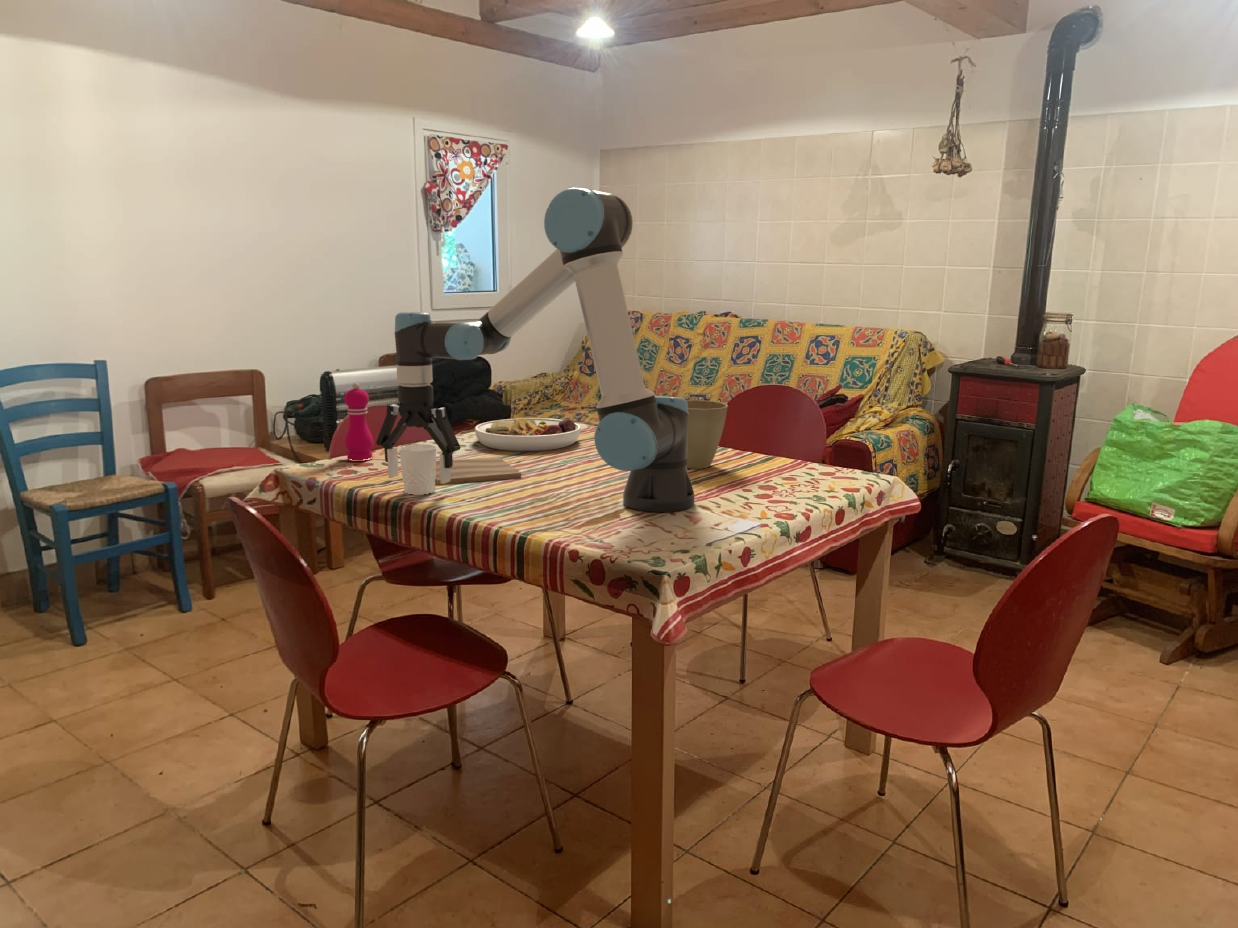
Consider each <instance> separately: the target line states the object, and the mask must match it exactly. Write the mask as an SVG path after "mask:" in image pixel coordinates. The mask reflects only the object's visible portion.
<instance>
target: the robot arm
mask: <svg viewBox="0 0 1238 928" xmlns="http://www.w3.org/2000/svg"><path fill="white" fill-rule="evenodd" d="M633 224H634V223H633V215H632V213H631V210H630V208H629V206H628V205H627V203H626V202H625V201H624V200H623V199H622V198H620V197H619V196H617V195H616V194H614V193H610V192H607V191H606V192H605V191H599V190H594V189H591V188H588V187H582V186H581V187H571V188H567V189H565V190H561V191H560V192H559V193H557V194H556V195H555V196H554V197H553V199H552V200H550V203H549V205H548V207H547V208H546V210H545V214H544V220H543V226H544V233H545V235H546V238H547V240H548V241H549V243H550V244H551V246H554V247H553V248H555V250H554V251H553V252H552V253H551V254H550V255H549V256H547V257H546V258H545V259H544V260H543V261H542V262H541V263H539V264H538V265H537V266H536V267H535V268H534V269H533V270H532V271H531V272H530V273H528V275H527V276H525V277H524V278H523V279H522V280H521V281H520V282H519V283H517V284H516V286H515V287H513V288H512V289H511V290H510V291H509V292H508V293H507V294H506V295H504V296H503V297H502V298H501V299H500V300H499V301H498V302H496V304H494V306H492V307H491V308H490V309H489V310H488V311H487V312H486V313H485V314H484V315H483V316H481V317H480V318H479V319H477V320H470V321H459V322H457V321H456V322H434V321H432V318H431V315H430V313H428V312H425V311H403V312H398V313H397V314H396V315H395V316H394V317H395V318H394V333H393V334H394V338H395V339H394V341H395V353H396V382H397V383H398V384H399V385H398V386H397V400H398V403H399V405H398V404H397V403H393V404H388V405H387V406H386V415H385V416H384V417H385V418H384V420H383V424H382V426H381V428H380V431H379V434H378V436H377V439H376V441H375V443H376V445H378V446H381V447H382V448H383V449H384V461H385V463H387V470H388V471H387V477H388V479H393V478H397V477H398V476H399V458H398V457H399V456H398V453H399V452H398V447H396V444H397V442H398V441H399V439H400V438H401V437H402V435H403V434H404V433H405V431H406V430H407V428H408V427H409V428H413V427H416V428H423V429H424V430H425V431H426V432H427V433H428V434H429V435H430V437H431V438H432V439H433V441H434V443H435V444H436V445H437V447H438V448H439V449H440V450H441V453H439V461H440V480H441V484H442V485H446V484H445V483H447V482H450V468H451V467H452V466H453V460H454V458H453V454H454V452H457V451H459V450H461V444H460V443H459V441H458V438H457V436H456V433H455V432H454V429H453V427H452V425H451V423H450V420H449V418H448V413H447V409H446V407H444V406H443V407H440V408H435V407H434V405H433V404H434V403H433V402H434V386H433V385H432V384H431V383H433V379H434V378H433V359H434V358H435V359H436V358H437V359H449V360H450V359H451V360H457V361H466V360H469V361H470V360H475V359H476V358H479V357H478V356H483V355H495V354H497V353H500V352H502V351H505V350H506V349H507V348H508V347H509V346H510V345H509V344H510V343H511V341H512V337H513V336H515V334H517V333H518V332H519V331H520V330H521V329H522V328H523V327H525V326H526V325H527V324H528V323H529V322H530V321H532V320H533V319H534V318H535V317H536V316H537V315H538V314H540V313H541V312H542V311H543V310H544V309H545V308H546V307H548V306H549V305H550V304H552V303H553V302H554V301H555V300H556V299H557V298H558V297H559V296H561V294H563V293H564V292H565V291H566V290H568V288H570V287H571V286H572V285H573V284H574V283H575V287H576V291H577V294H578V296H577V297H578V298H579V304H580V307H581V308H580V309H581V311H582V312H581V313H582V318H583V320H584V325H585V330H586V334H587V338H588V342H589V346H590V347H589V348H590V352H591V355H592V361H593V364H594V365H593V366H594V369H595V373H596V376H597V381H598V386H599V390H600V395H601V397H600V399H599V402H598V404H596V412H597V416H598V421H599V422H598V424H597V426H596V428H595V431H594V446H595V449H596V451H597V453H598V455H599V456H600V458H601V459H602V460H603V462H604V463H605V464H607V465H609V466H610V467H611V468H613V469H615V470H617V471H622V472H629V475H628V478H627V480H626V484H625V486H624V489H623V494H622V496H623V497H622V499H623V501H622V503H623V506H624V505H625V507H627V508H629V509H632V510H637V511H643V512H653V513H668V512H672V513H673V512H678V511H684V510H688V509H690V508H693V507H694V505H695V491H694V488H693V485H692V482H691V479H690V474H689V471H688V468H687V442H688V417H689V412H688V403H687V401H686V400H687V399H685V398H684V397H679V396H677V397H675V396H663V395H662V396H661V395H656V394H655V393H654V392H653V391H651V390H650V389H648V388H647V387H646V386H645V382H644V377H643V372H642V369H641V364H640V360H639V355H638V350H637V346H636V341H635V338H634V332H633V329H632V324H631V320H630V315H629V311H628V307H627V302H626V298H625V294H624V289H623V285H622V280H621V275H620V272H619V271H620V270H619V267H618V264H619V262H620V260H621V258H622V256H623V254H624V253H623V249H622V248H623V247H625V245H626V244H627V243H628V241H629V239H630V236H631V235H632V231H633ZM398 415H399V416H400V419H399V420H398V422H397V423H396V426H395V422H396V420H397V418H398ZM434 418H435V419H436V421H435V419H434ZM394 426H395V427H394ZM393 428H394V429H393Z"/></svg>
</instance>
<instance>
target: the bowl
mask: <svg viewBox="0 0 1238 928" xmlns="http://www.w3.org/2000/svg"><path fill="white" fill-rule="evenodd" d="M581 431H582V430H581V425H580V424H578V423H576V422H574V421H573V420H571V419H567V418H565V419H556V418H555V419H554V418H553V419H551V418H532V417H531V418H527V417H526V418H524V417H516V418H507V419H498V420H491V421H487V422H482V423H479V424H477V425H476V426H475V427H474V433H475V437H476V439H477V441H479V443H480V444H482V445H483V446H485V447H488V448H490V449H493V450H499V451H510V452H541V451H542V452H543V451H554V450H558V449H563V448H567V447H569V446H572V445H573V444H574V443H575V442H577V440H579V437H580V435H581ZM553 449H554V450H553Z"/></svg>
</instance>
